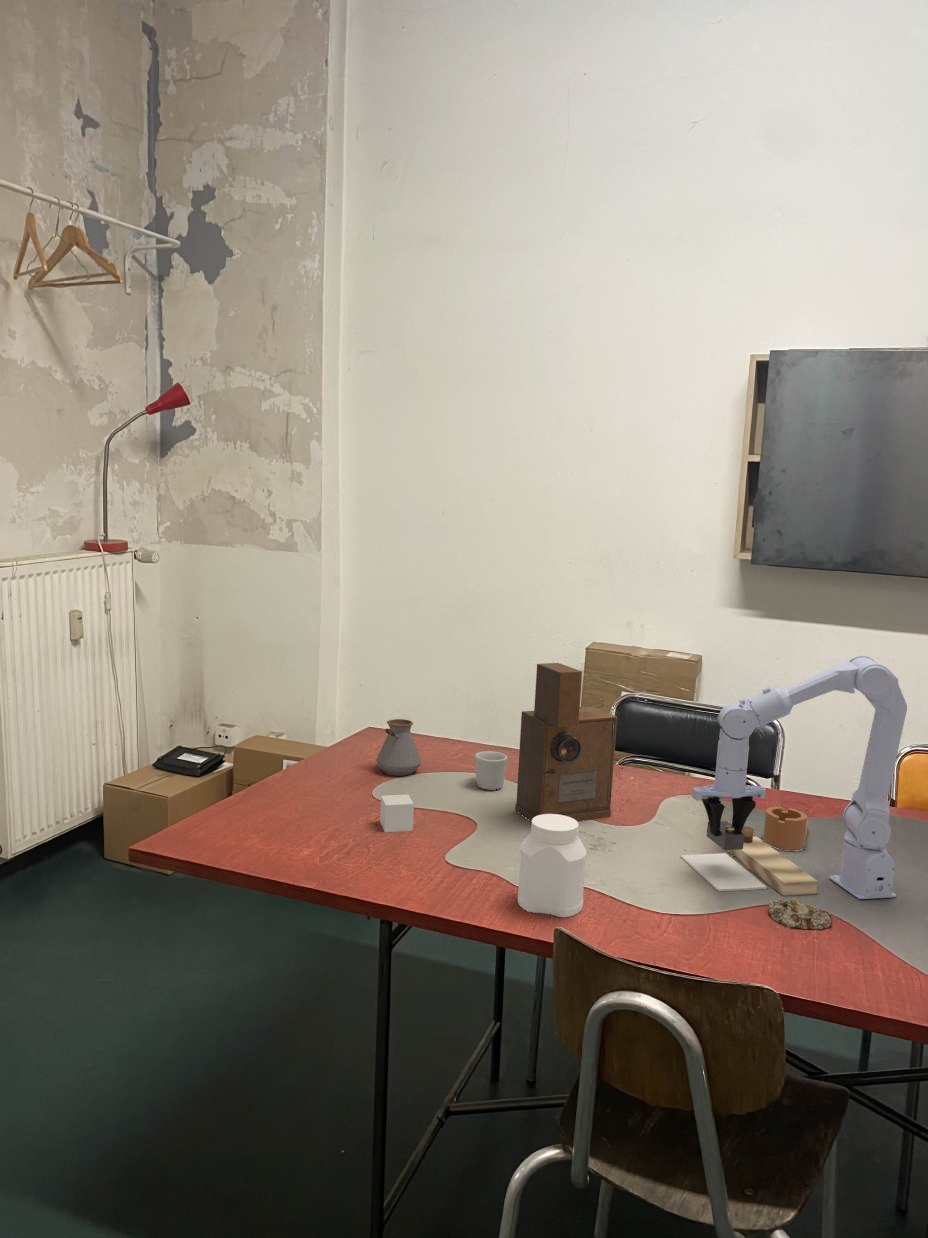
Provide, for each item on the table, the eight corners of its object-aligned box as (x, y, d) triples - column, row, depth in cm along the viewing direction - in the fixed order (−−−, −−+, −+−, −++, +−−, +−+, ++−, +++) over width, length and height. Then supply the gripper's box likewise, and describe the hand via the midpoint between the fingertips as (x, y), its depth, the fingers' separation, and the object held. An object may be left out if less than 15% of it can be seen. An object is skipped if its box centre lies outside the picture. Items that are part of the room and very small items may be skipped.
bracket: (802, 855, 189) (805, 823, 188) (760, 847, 192) (763, 815, 191) (808, 828, 205) (811, 798, 204) (770, 820, 208) (773, 791, 207)
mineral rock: (767, 913, 156) (770, 884, 163) (764, 933, 158) (767, 903, 164) (834, 928, 152) (834, 898, 159) (830, 948, 154) (831, 917, 161)
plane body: (816, 893, 169) (819, 868, 169) (782, 895, 168) (785, 870, 167) (755, 847, 191) (757, 825, 190) (724, 849, 189) (726, 826, 189)
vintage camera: (547, 833, 193) (557, 672, 188) (515, 811, 206) (523, 659, 201) (621, 823, 202) (632, 668, 197) (585, 802, 214) (595, 656, 209)
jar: (512, 910, 157) (517, 827, 155) (522, 887, 166) (527, 809, 164) (579, 920, 154) (585, 836, 152) (585, 896, 164) (591, 817, 162)
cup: (463, 780, 226) (464, 749, 225) (491, 777, 230) (493, 746, 228) (482, 794, 217) (483, 761, 215) (511, 790, 220) (513, 758, 219)
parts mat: (766, 889, 171) (767, 887, 170) (718, 891, 168) (718, 889, 168) (725, 855, 186) (725, 853, 186) (680, 857, 184) (680, 855, 184)
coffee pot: (382, 762, 237) (384, 706, 235) (425, 766, 236) (427, 710, 234) (360, 788, 217) (362, 727, 214) (407, 793, 215) (409, 731, 213)
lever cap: (742, 849, 173) (744, 830, 173) (723, 850, 173) (725, 831, 172) (725, 835, 180) (726, 817, 180) (706, 836, 179) (708, 817, 179)
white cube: (412, 831, 191) (413, 804, 190) (384, 832, 190) (385, 805, 189) (407, 821, 197) (408, 794, 196) (380, 822, 195) (380, 795, 195)
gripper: (755, 759, 180) (748, 825, 182) (687, 760, 176) (681, 827, 178) (774, 770, 173) (767, 838, 175) (704, 772, 170) (698, 841, 172)
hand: (725, 834), depth 176 cm, fingers closed on lever cap, 4 cm apart
